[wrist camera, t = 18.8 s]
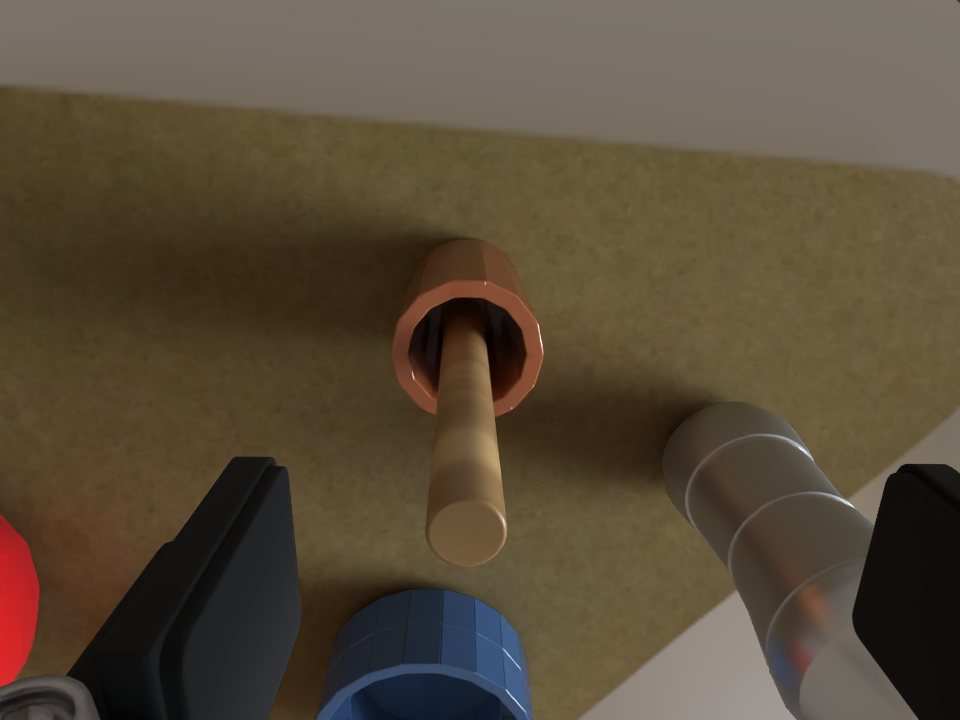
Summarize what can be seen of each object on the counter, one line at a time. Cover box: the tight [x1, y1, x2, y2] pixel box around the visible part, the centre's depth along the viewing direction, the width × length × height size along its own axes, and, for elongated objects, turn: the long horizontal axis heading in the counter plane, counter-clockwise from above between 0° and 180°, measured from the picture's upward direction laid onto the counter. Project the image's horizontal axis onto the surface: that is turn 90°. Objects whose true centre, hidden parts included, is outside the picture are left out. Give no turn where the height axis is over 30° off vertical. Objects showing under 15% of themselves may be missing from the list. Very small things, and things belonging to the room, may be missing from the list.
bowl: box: [314, 589, 533, 720], centre depth 36 cm, size 11×11×6 cm
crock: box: [391, 239, 544, 417], centre depth 27 cm, size 5×5×9 cm
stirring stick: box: [425, 298, 507, 567], centre depth 22 cm, size 2×2×19 cm
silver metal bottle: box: [662, 402, 918, 720], centre depth 25 cm, size 6×7×20 cm
